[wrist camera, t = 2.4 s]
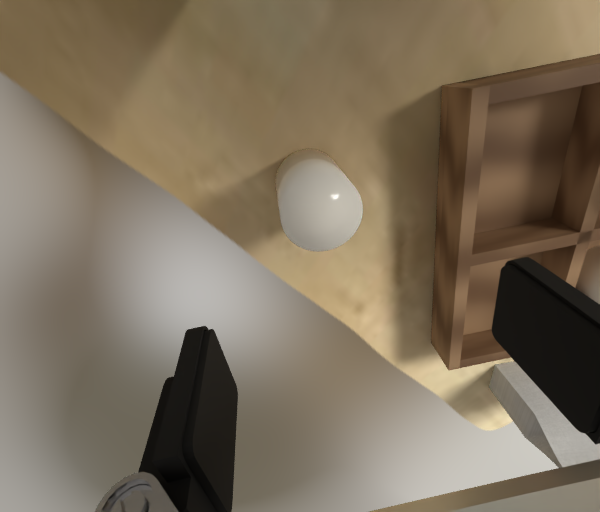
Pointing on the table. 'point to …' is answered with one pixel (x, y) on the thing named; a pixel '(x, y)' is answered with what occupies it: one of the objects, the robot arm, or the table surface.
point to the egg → (316, 201)
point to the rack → (512, 192)
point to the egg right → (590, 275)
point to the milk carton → (540, 417)
